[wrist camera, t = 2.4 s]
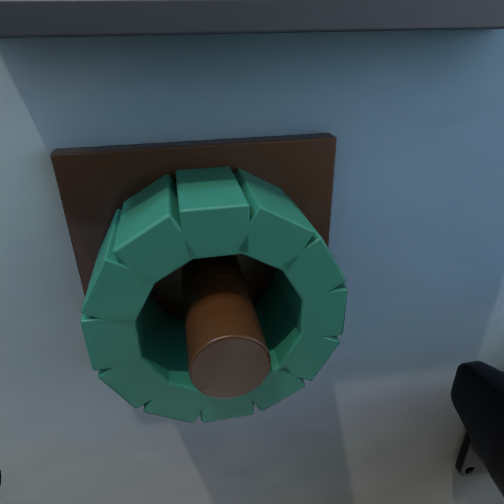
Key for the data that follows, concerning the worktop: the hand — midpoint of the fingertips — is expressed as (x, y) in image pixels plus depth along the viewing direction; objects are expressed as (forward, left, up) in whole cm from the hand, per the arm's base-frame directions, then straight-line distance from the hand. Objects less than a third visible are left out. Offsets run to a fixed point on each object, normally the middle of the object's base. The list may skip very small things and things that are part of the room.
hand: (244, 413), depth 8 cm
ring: (0, 0, -6) cm, 6 cm away
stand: (0, 0, -6) cm, 6 cm away
